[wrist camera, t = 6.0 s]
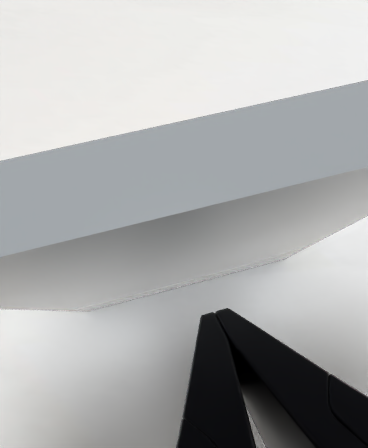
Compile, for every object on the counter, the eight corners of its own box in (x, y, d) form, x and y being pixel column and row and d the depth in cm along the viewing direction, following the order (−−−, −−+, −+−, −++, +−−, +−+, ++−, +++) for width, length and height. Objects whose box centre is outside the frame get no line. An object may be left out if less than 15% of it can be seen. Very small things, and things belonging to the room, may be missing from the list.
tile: (284, 259, 19) (544, 124, 5) (88, 311, 18) (-190, 303, 4) (274, 231, 19) (491, 43, 6) (82, 280, 18) (-184, 189, 5)
